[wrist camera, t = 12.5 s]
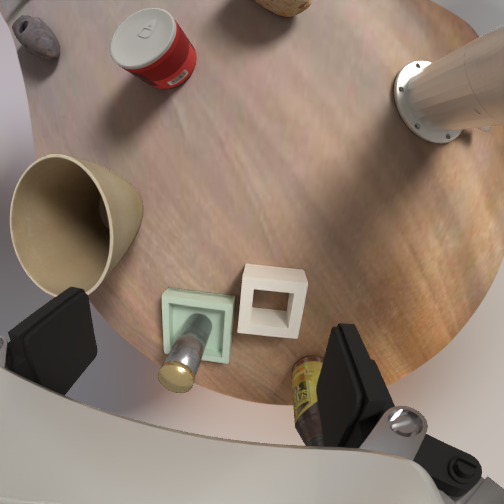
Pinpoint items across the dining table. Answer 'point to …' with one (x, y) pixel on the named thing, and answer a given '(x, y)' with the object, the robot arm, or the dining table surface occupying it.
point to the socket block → (269, 319)
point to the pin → (186, 354)
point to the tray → (209, 304)
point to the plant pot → (72, 222)
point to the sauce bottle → (307, 400)
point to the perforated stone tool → (36, 37)
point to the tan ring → (285, 6)
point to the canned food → (153, 48)
